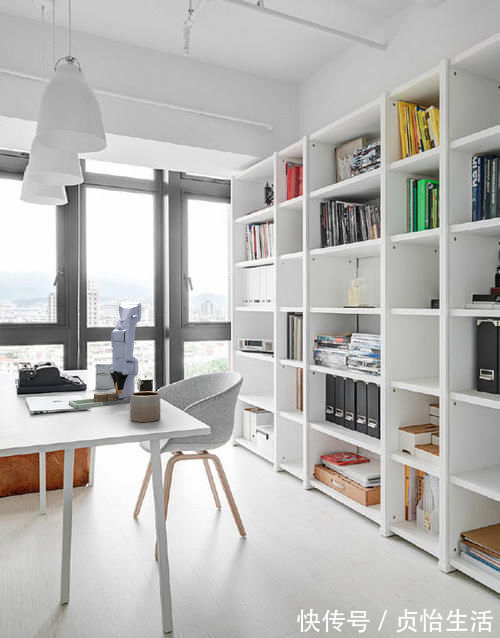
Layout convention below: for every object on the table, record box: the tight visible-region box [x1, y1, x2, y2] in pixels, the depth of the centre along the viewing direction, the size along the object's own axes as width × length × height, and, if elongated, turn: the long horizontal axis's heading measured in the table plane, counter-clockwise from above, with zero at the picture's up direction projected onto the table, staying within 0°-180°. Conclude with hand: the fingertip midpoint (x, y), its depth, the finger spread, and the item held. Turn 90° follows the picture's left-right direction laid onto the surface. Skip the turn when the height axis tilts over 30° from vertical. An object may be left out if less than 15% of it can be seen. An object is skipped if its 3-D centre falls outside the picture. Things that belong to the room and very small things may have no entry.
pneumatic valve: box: [136, 375, 154, 392], centre depth 214 cm, size 6×12×12 cm, turn 20°
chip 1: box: [93, 392, 107, 403], centre depth 210 cm, size 4×4×4 cm
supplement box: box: [94, 361, 115, 390], centre depth 253 cm, size 7×7×13 cm
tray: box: [68, 397, 103, 409], centre depth 206 cm, size 10×11×2 cm
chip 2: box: [104, 391, 117, 401], centre depth 212 cm, size 4×4×4 cm
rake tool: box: [114, 382, 123, 398], centre depth 214 cm, size 4×3×6 cm, turn 38°
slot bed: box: [101, 397, 131, 407], centre depth 213 cm, size 10×12×2 cm
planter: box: [129, 391, 161, 424], centre depth 184 cm, size 11×11×10 cm
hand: (119, 389), depth 214 cm, fingers closed on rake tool, 3 cm apart
